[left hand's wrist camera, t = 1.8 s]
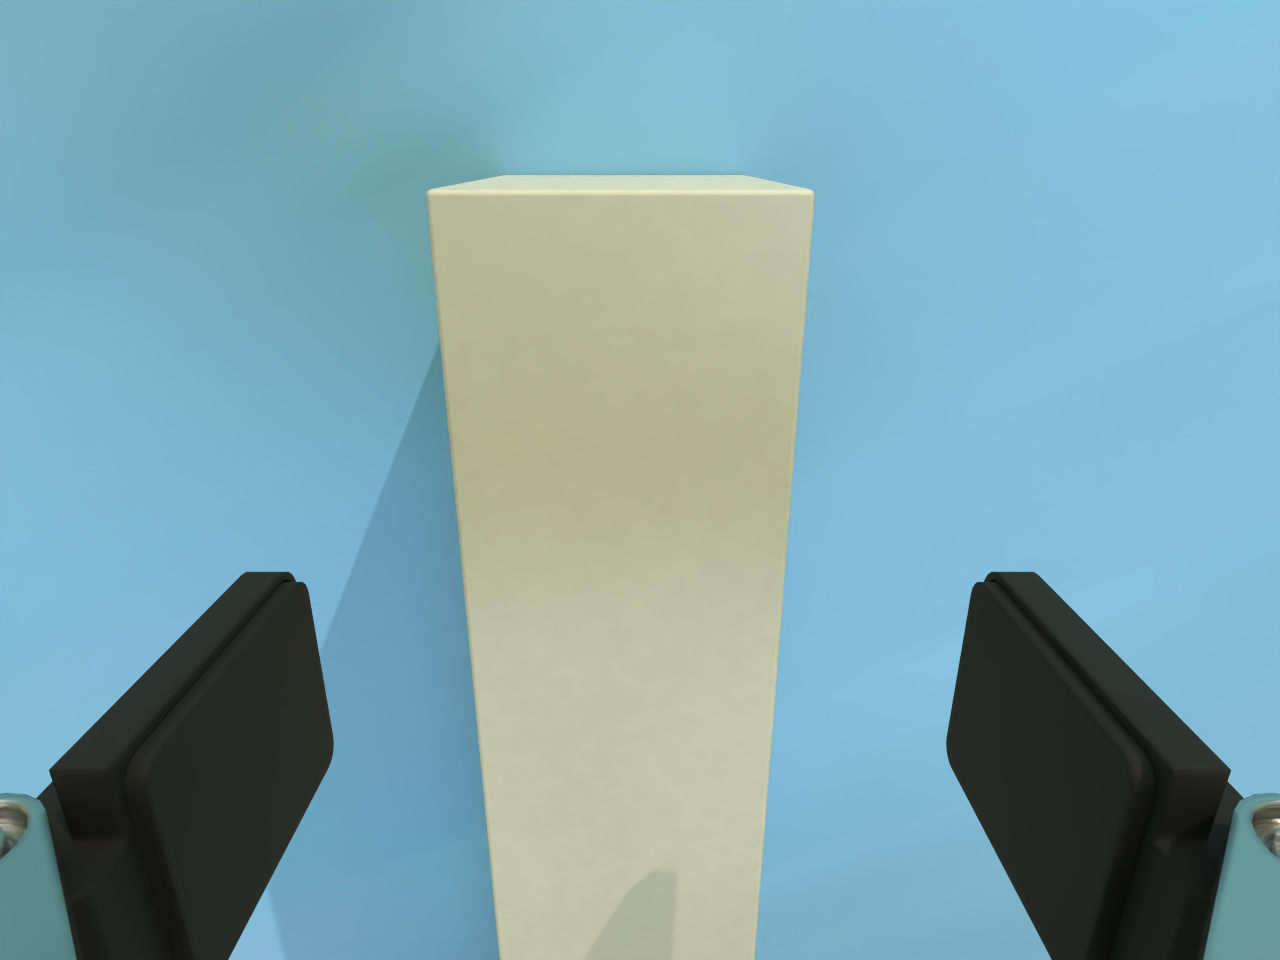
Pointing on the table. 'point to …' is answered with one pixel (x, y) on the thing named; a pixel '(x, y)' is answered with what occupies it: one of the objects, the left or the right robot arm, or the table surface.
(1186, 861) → the left robot arm
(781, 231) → the block
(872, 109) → the table surface
